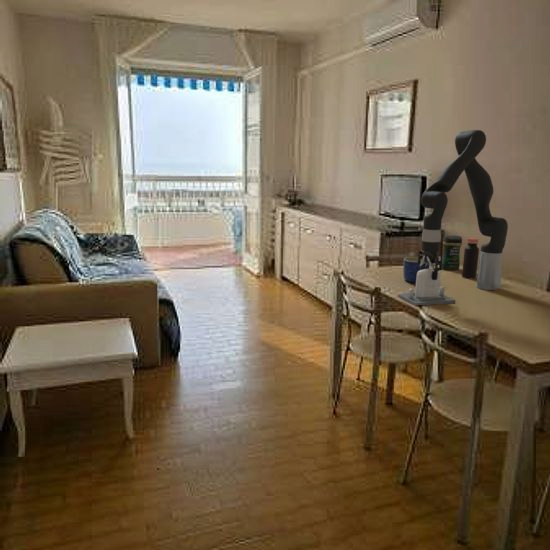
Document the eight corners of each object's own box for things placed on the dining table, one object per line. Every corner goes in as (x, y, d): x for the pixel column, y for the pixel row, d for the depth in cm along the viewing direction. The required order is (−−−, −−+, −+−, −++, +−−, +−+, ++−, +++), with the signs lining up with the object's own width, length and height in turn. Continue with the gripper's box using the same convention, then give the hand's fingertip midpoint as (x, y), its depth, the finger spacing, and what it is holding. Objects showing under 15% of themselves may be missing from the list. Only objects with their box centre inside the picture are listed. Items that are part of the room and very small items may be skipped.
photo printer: (435, 295, 209) (437, 267, 206) (440, 297, 205) (442, 269, 202) (413, 296, 207) (415, 268, 204) (417, 298, 203) (419, 270, 200)
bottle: (459, 277, 246) (463, 238, 241) (464, 275, 251) (468, 237, 246) (473, 279, 241) (477, 240, 237) (478, 277, 246) (482, 238, 241)
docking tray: (436, 293, 215) (436, 282, 214) (455, 302, 202) (456, 290, 201) (398, 296, 210) (398, 285, 209) (415, 306, 197) (416, 293, 196)
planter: (433, 283, 233) (435, 261, 231) (410, 284, 231) (411, 262, 228) (419, 277, 245) (421, 256, 243) (397, 278, 242) (399, 257, 240)
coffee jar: (444, 270, 260) (447, 236, 256) (438, 267, 268) (441, 234, 263) (461, 270, 261) (464, 236, 256) (455, 267, 268) (458, 234, 264)
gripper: (449, 242, 194) (446, 280, 198) (429, 236, 208) (426, 273, 212) (433, 243, 192) (430, 282, 196) (413, 237, 206) (411, 274, 210)
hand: (428, 277), depth 204 cm, fingers open, 8 cm apart
